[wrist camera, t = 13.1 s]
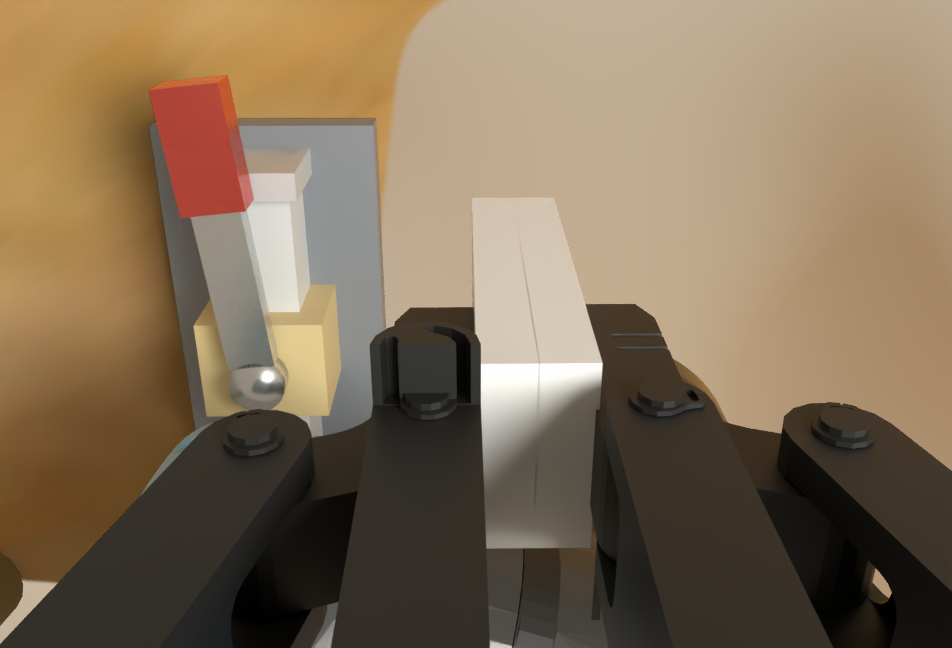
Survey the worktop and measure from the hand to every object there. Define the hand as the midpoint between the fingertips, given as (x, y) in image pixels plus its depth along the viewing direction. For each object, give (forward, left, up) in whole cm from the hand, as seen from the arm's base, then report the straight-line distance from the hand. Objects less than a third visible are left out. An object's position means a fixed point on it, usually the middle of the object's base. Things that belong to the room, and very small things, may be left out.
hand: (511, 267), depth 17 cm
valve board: (-13, +10, -26) cm, 31 cm away
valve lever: (-7, +11, -20) cm, 24 cm away
